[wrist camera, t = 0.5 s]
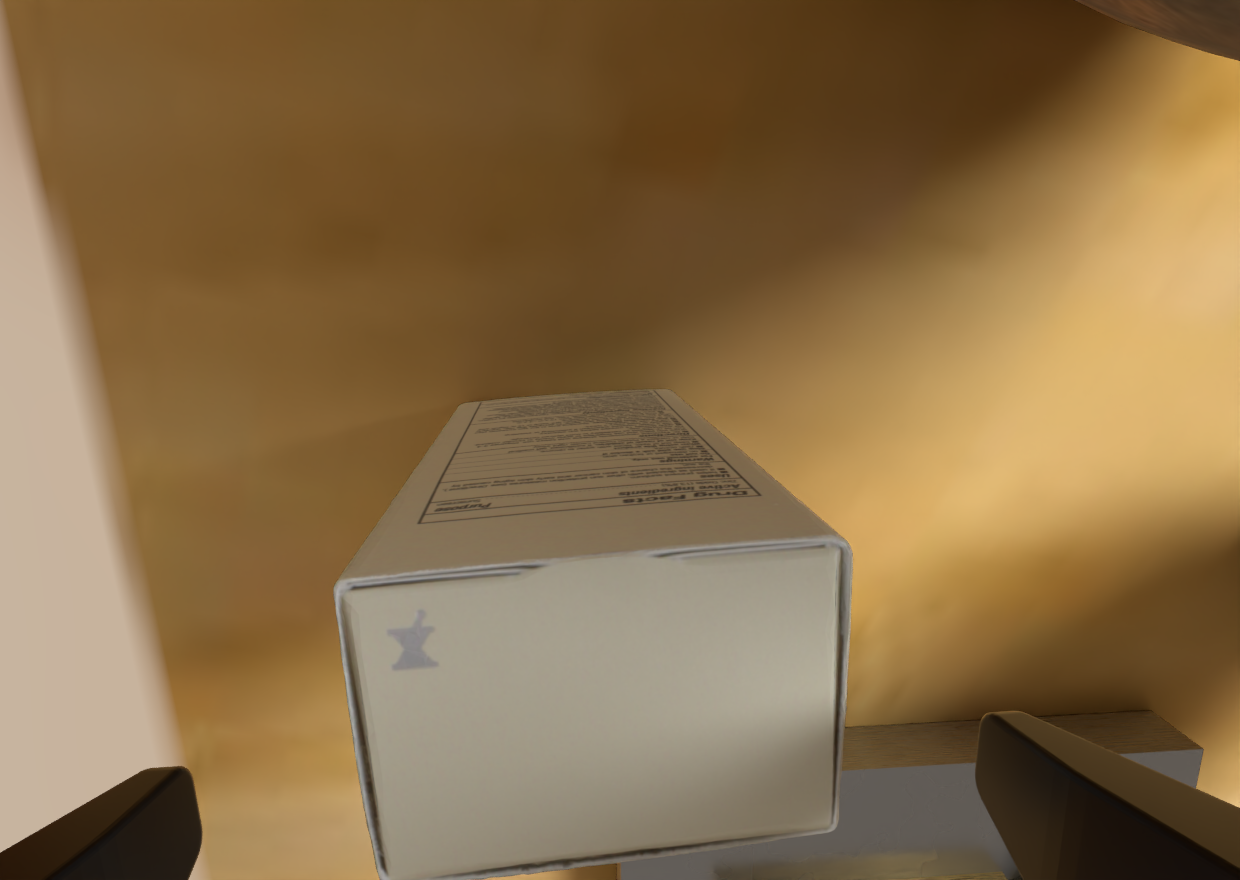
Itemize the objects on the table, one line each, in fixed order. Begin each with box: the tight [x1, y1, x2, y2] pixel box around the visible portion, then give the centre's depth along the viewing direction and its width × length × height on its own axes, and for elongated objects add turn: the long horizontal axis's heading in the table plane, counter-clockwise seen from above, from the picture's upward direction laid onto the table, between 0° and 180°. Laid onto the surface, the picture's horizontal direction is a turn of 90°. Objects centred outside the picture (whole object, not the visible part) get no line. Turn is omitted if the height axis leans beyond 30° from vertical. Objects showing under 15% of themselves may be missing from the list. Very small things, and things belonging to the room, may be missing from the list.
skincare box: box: [333, 389, 853, 880], centre depth 14 cm, size 6×4×12 cm
